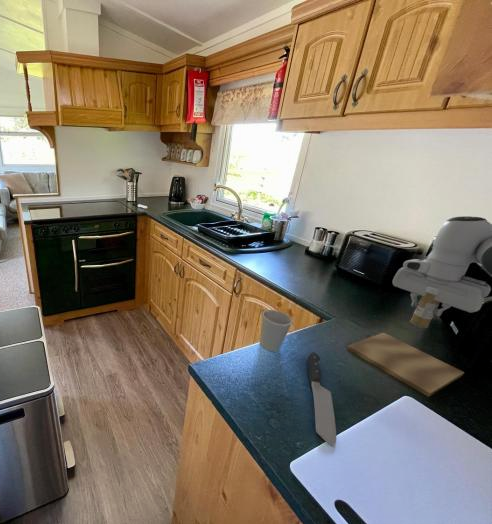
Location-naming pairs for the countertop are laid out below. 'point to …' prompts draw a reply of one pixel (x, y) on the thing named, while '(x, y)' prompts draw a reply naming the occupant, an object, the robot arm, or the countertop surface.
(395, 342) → the maple board
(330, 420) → the kitchen knife
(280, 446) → the countertop surface
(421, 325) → the sprinkles bottle
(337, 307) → the countertop surface
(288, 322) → the dixie cup
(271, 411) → the countertop surface
